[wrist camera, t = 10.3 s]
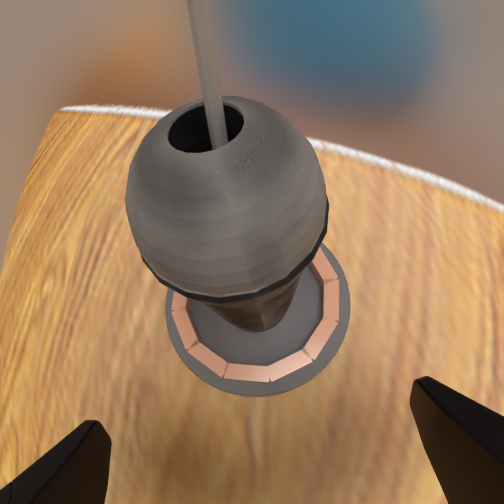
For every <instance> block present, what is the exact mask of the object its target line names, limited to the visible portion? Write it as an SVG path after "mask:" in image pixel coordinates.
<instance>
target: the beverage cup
mask: <svg viewBox="0 0 504 504" xmlns="http://www.w3.org/2000/svg"><path fill="white" fill-rule="evenodd" d="M187 5H188V12H189V18H190V24H191V30H192V35H193V42H194V47H195V54H196V60H197V65H198V71H199V77H200V83H201V89H202V94H203V99H198V100H195V101H193V102H190V103H188V104H185V105H183V106H181V107H178V108H177V109H175V110H173V111H172V112H170V113H169V114H167V115H166V116H164V117H163V118H162V119H161V120H160V121H159V122H158V123H157V124H156V125H155V126H154V127H153V128H152V129H151V130H150V131H149V132H148V134H147V135H146V136H145V137H144V138H143V140H142V142H141V144H140V146H139V148H138V150H137V152H136V153H135V155H134V158H133V160H132V162H131V165H130V168H129V174H128V181H127V188H126V196H125V204H126V212H127V216H128V220H129V223H130V227H131V231H132V234H133V237H134V240H135V242H136V245H137V247H138V248H139V250H140V253H141V257H142V260H143V262H144V263H145V264H146V265H147V267H148V268H149V269H150V270H151V272H152V273H153V274H154V275H155V277H156V278H157V279H158V280H159V282H160V283H162V284H164V285H165V286H167V287H169V288H170V289H172V290H174V291H176V292H177V293H179V294H181V295H183V296H184V297H186V298H190V299H195V300H198V301H200V302H203V303H204V304H205V305H207V306H208V307H209V308H211V309H212V310H213V311H214V312H216V313H217V314H218V315H220V316H221V317H222V318H224V319H225V320H226V321H228V322H229V323H231V324H232V325H234V326H236V327H238V328H240V329H242V330H244V331H249V332H262V331H267V330H269V329H271V328H273V327H275V326H276V325H277V324H278V323H279V322H280V321H281V320H282V319H283V317H284V316H285V314H286V312H287V310H288V308H289V306H290V305H291V302H292V299H293V296H294V294H295V291H296V288H297V285H298V282H299V280H300V277H301V274H302V272H303V271H304V270H305V268H306V267H307V265H308V264H309V263H310V262H311V261H312V260H313V259H314V257H315V255H316V253H317V251H318V249H319V247H320V245H321V243H322V241H323V239H324V237H325V235H326V233H327V224H328V212H329V202H328V198H327V195H326V185H325V181H324V177H323V173H322V170H321V167H320V164H319V161H318V158H317V156H316V153H315V151H314V149H313V147H312V145H311V143H310V142H309V141H308V140H307V139H306V138H305V136H304V135H303V134H302V133H301V132H300V131H299V129H298V128H297V127H296V126H295V125H294V124H293V123H292V122H291V121H290V119H288V118H287V117H286V116H284V115H283V114H281V113H280V112H278V111H276V110H274V109H272V108H271V107H269V106H267V105H265V104H264V103H261V102H258V101H254V100H250V99H246V98H242V97H237V96H222V94H221V87H220V80H219V74H218V66H217V58H216V51H215V44H214V36H213V29H212V22H211V15H210V7H209V0H187Z"/></svg>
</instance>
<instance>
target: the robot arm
mask: <svg viewBox="0 0 504 504" xmlns="http://www.w3.org/2000/svg"><path fill="white" fill-rule="evenodd" d="M410 407H411V410H412V413H413V416H414V419H415V422H416V425H417V428H418V431H419V434H420V437H421V440H422V443H423V446H424V449H425V451H426V454H427V456H428V458H429V460H430V462H431V465H432V467H433V469H434V471H435V474H436V476H437V478H438V480H439V483H440V485H441V487H442V490H443V492H444V494H445V497H446V499H447V501H448V504H504V416H502V415H500V414H498V413H496V412H494V411H493V410H491V409H489V408H487V407H485V406H483V405H481V404H479V403H477V402H476V401H474V400H472V399H470V398H468V397H466V396H464V395H462V394H461V393H459V392H457V391H455V390H453V389H451V388H450V387H448V386H446V385H444V384H442V383H440V382H438V381H437V380H435V379H433V378H431V377H429V376H424V377H421V378H418V379H415V380H414V382H413V385H412V390H411V395H410ZM111 445H112V443H111V438H110V436H109V435H108V433H107V432H106V430H105V429H104V427H103V426H102V424H101V423H100V422H99V421H97V420H85V421H84V422H83V423H82V424H80V425H79V426H78V427H77V428H76V429H74V430H73V431H72V432H71V433H70V434H68V435H67V436H66V437H65V438H64V439H62V440H61V441H60V442H59V443H58V444H56V445H55V446H54V447H53V448H52V449H50V450H49V451H48V452H47V453H46V454H44V455H43V456H42V457H41V458H39V459H38V460H37V461H36V462H35V463H33V464H32V465H31V466H30V467H28V468H27V469H26V470H25V471H24V472H22V473H21V474H20V475H19V476H17V477H16V478H15V479H14V480H13V481H12V482H10V483H9V484H7V485H6V486H5V487H4V488H2V489H1V490H0V504H104V503H105V497H106V492H107V486H108V478H109V466H110V455H111Z"/></svg>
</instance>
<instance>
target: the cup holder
mask: <svg viewBox="0 0 504 504" xmlns="http://www.w3.org/2000/svg"><path fill="white" fill-rule="evenodd" d="M349 318H350V293H349V289H348V284H347V280H346V278H345V275H344V272H343V270H342V268H341V266H340V264H339V263H338V261H337V259H336V258H335V257H334V255H333V254H332V252H331V251H330V250H329V249H328V248H327V247H326V246H325V245H324V244H323V243H321V245H320V247H319V249H318V251H317V253H316V255H315V257H314V259H313V260H312V261H311V262H310V263H309V264H308V265H307V267H306V268H305V270H304V271H303V272H302V274H301V277H300V280H299V282H298V285H297V288H296V291H295V294H294V296H293V299H292V302H291V305H290V306H289V308H288V310H287V312H286V314H285V316H284V317H283V319H282V320H281V321H280V322H279V323H278V324H277V325H276V326H275V327H273V328H271V329H269V330H267V331H262V332H249V331H244V330H242V329H240V328H238V327H236V326H234V325H232V324H231V323H229V322H228V321H226V320H225V319H224V318H222V317H221V316H220V315H218V314H217V313H216V312H214V311H213V310H212V309H211V308H209V307H208V306H207V305H205V304H204V303H203V302H200V301H198V300H195V299H190V298H186V297H184V296H183V295H181V294H179V293H177V292H176V291H174V290H172V289H170V288H168V292H167V298H166V322H167V328H168V332H169V335H170V338H171V341H172V343H173V345H174V348H175V350H176V351H177V353H178V355H179V356H180V358H181V359H182V361H183V362H184V363H185V364H186V365H187V367H188V368H189V369H190V370H191V371H192V372H193V373H195V374H196V375H197V376H198V377H199V378H200V379H202V380H203V381H205V382H207V383H208V384H210V385H212V386H214V387H216V388H218V389H220V390H222V391H226V392H229V393H232V394H237V395H243V396H269V395H276V394H280V393H283V392H287V391H289V390H292V389H294V388H297V387H299V386H301V385H302V384H304V383H306V382H307V381H309V380H311V379H312V378H313V377H315V376H316V375H317V374H318V373H320V372H321V371H322V370H323V369H324V368H325V367H326V366H327V365H328V364H329V362H330V361H331V360H332V358H333V357H334V356H335V354H336V353H337V351H338V349H339V347H340V346H341V344H342V342H343V339H344V337H345V334H346V331H347V328H348V323H349Z"/></svg>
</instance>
